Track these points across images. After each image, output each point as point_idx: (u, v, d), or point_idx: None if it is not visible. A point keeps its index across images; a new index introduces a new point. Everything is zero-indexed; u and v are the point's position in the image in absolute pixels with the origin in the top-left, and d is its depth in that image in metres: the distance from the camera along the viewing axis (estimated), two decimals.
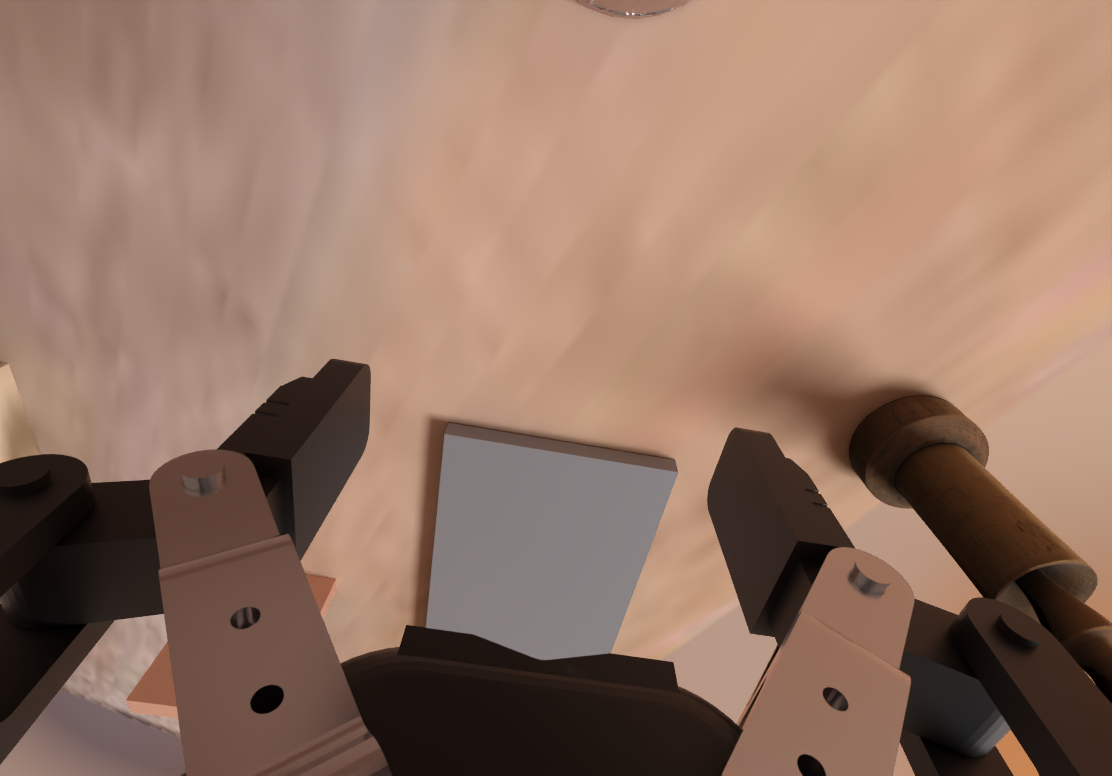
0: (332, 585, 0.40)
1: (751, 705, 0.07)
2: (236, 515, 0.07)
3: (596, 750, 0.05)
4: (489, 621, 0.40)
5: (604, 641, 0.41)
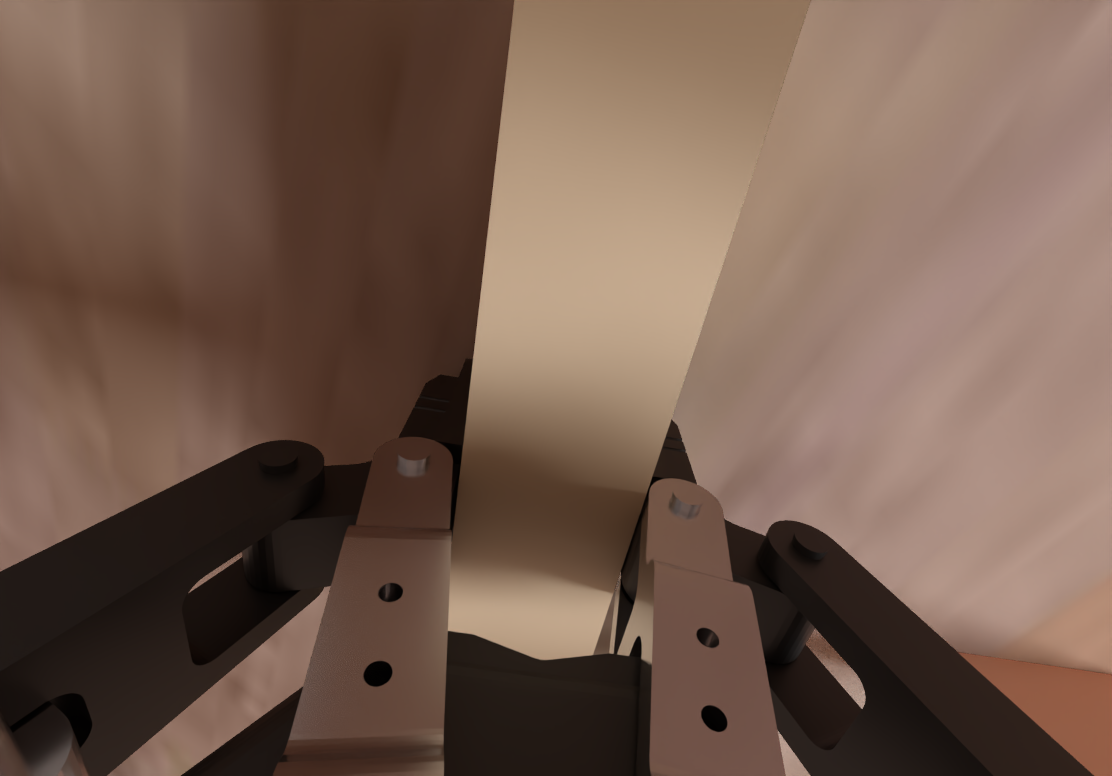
0: None
1: None
2: (423, 500, 0.08)
3: (596, 750, 0.05)
4: None
5: None
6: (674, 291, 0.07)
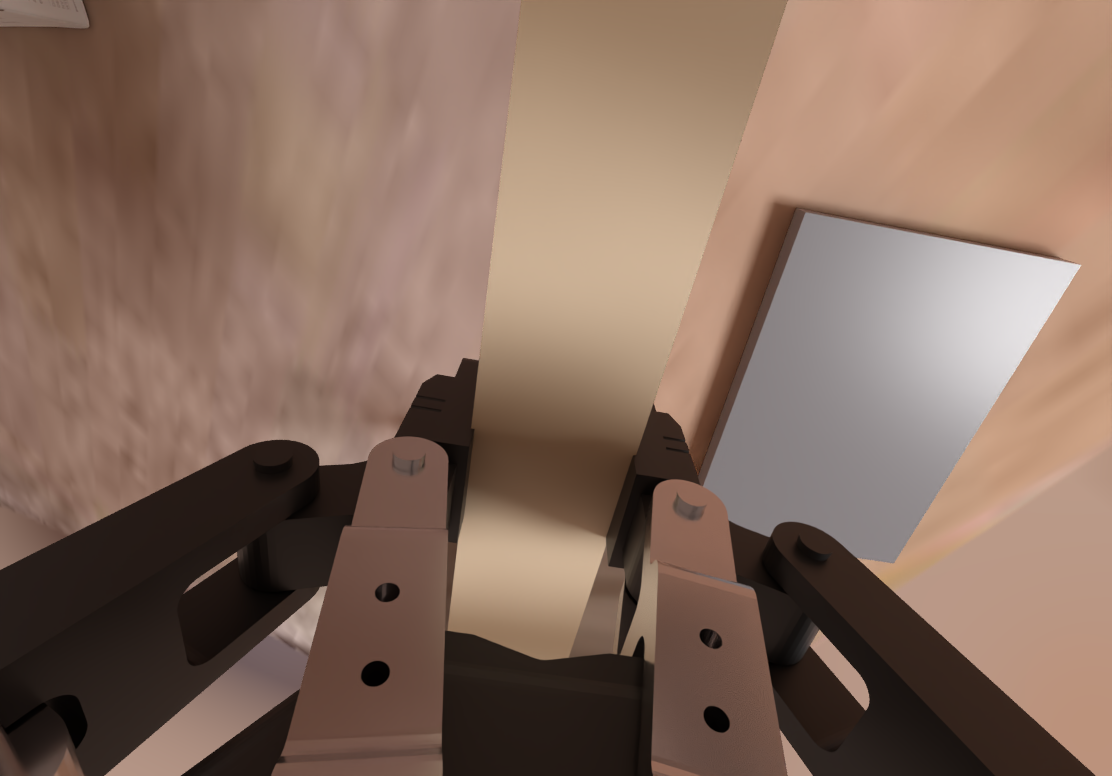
0: None
1: None
2: (419, 500, 0.08)
3: (596, 750, 0.05)
4: (776, 493, 0.33)
5: (908, 519, 0.34)
6: (662, 268, 0.08)
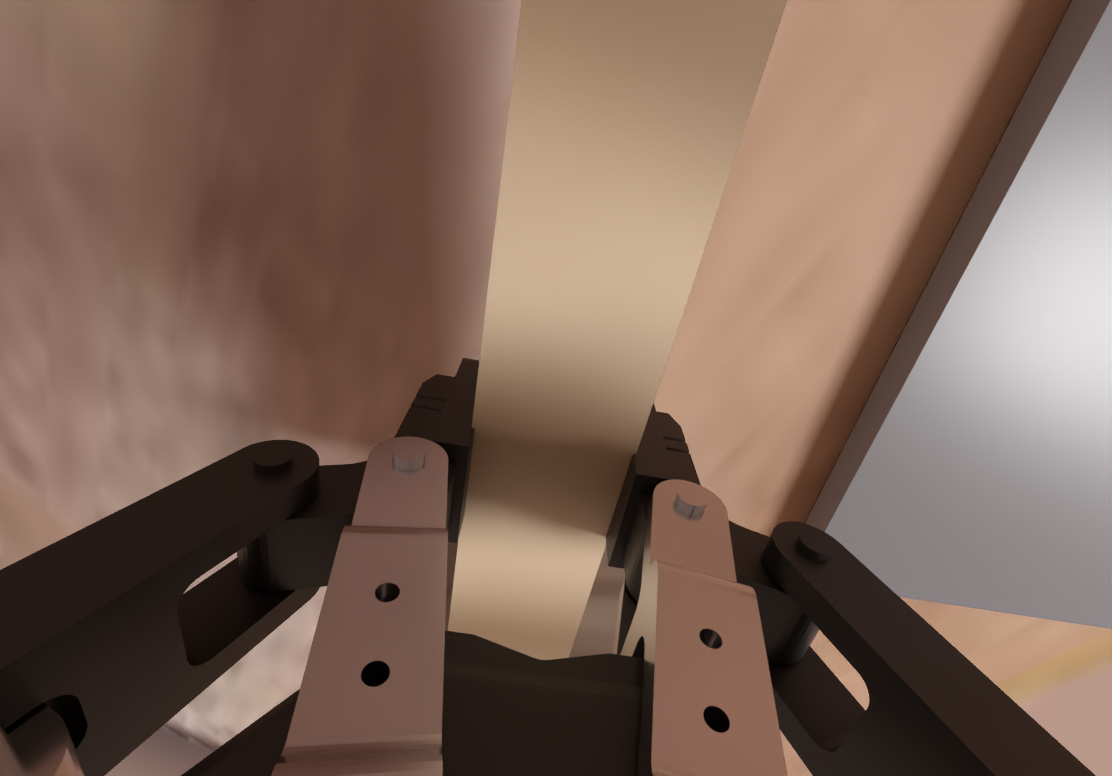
0: None
1: None
2: (419, 500, 0.08)
3: (596, 750, 0.05)
4: (962, 520, 0.20)
5: None
6: (662, 269, 0.08)
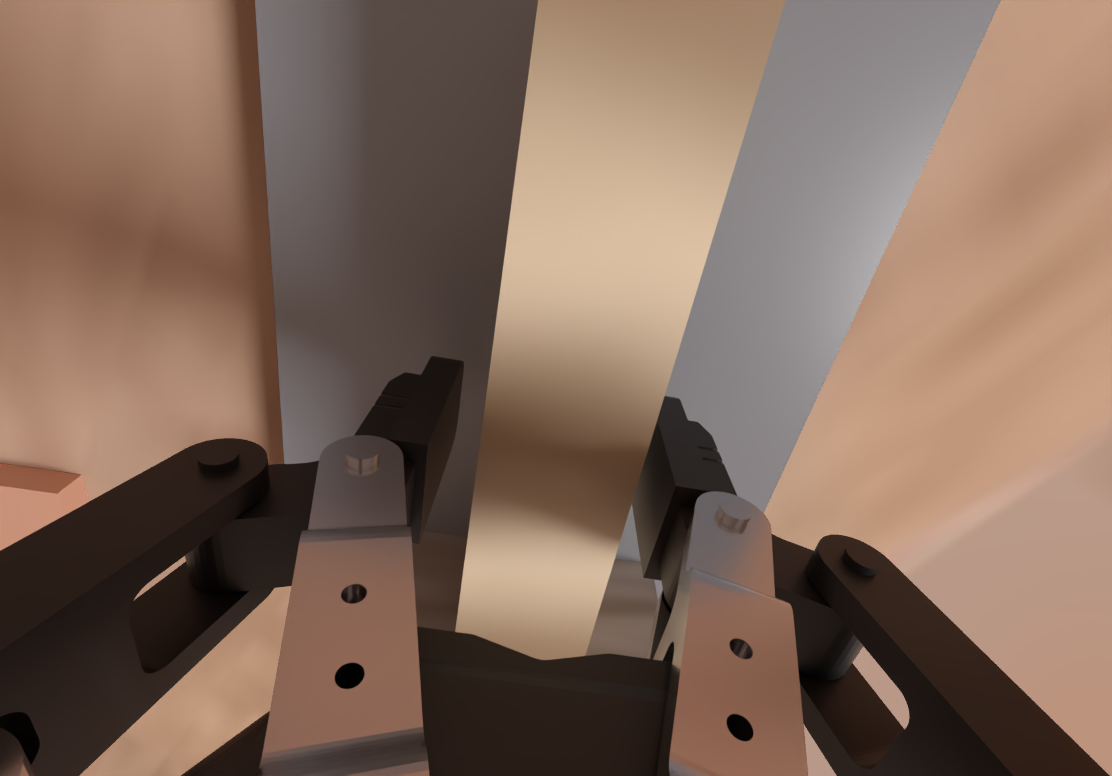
0: (60, 508, 0.17)
1: None
2: (377, 498, 0.08)
3: (596, 750, 0.05)
4: None
5: None
6: (674, 252, 0.08)
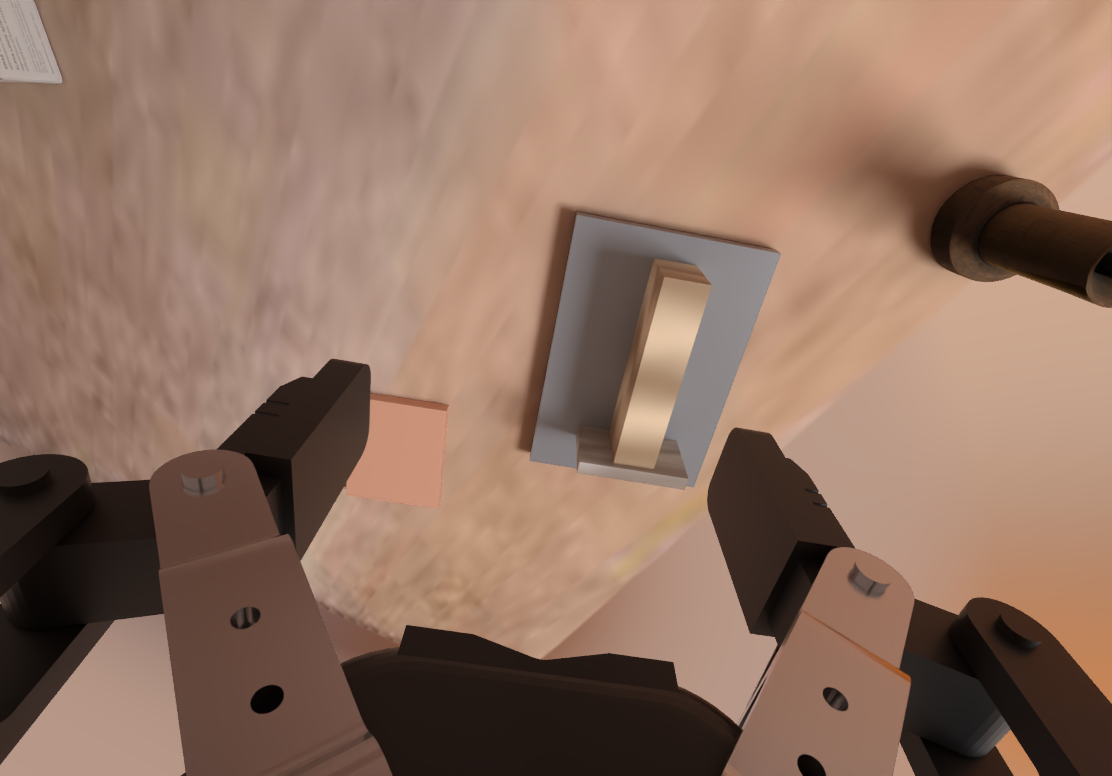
0: (445, 417, 0.44)
1: (751, 705, 0.07)
2: (236, 515, 0.07)
3: (596, 750, 0.05)
4: None
5: (697, 450, 0.44)
6: (688, 335, 0.35)
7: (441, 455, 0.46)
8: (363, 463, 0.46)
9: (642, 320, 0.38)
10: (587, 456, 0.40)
